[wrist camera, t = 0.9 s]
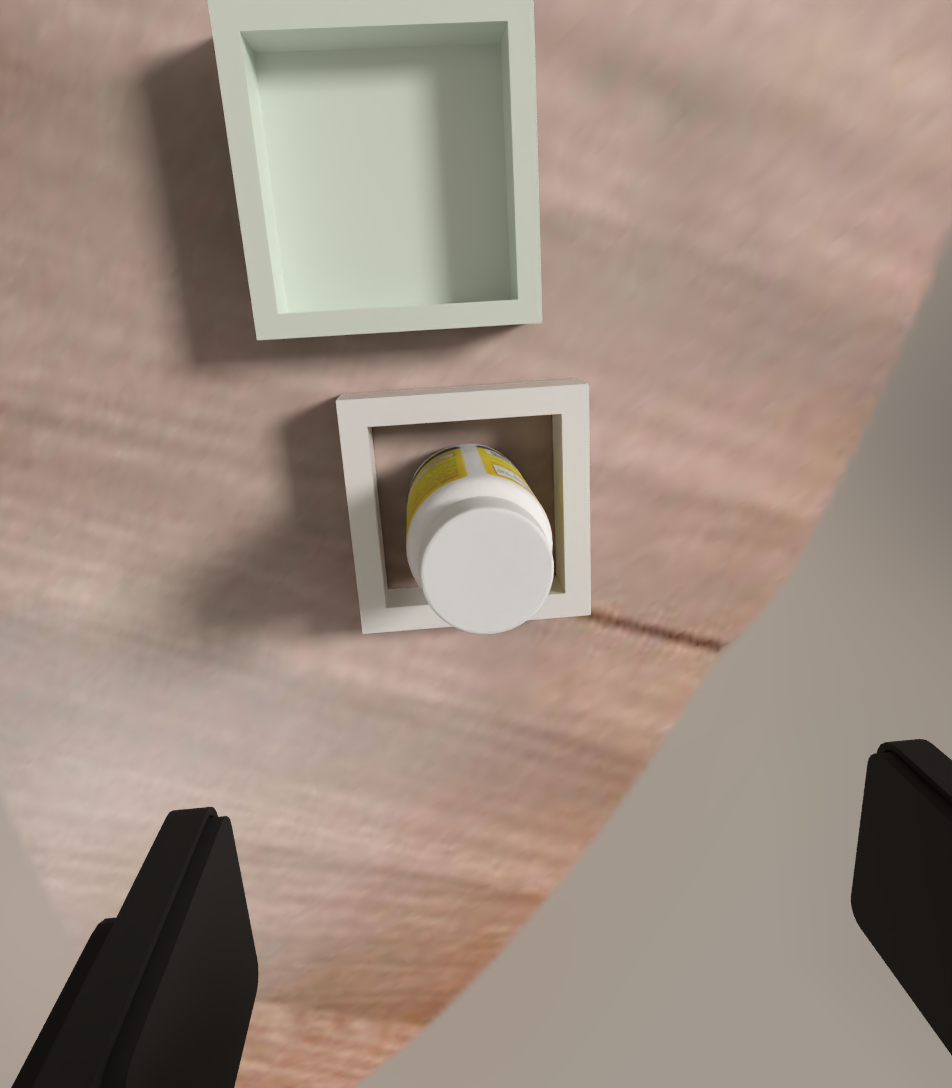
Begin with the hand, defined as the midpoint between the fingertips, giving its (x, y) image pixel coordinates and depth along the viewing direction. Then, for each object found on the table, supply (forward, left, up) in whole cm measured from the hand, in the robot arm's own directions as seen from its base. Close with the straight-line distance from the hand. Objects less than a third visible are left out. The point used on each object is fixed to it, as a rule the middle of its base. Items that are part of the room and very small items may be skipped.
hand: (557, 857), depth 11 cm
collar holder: (0, 0, -20) cm, 20 cm away
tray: (-12, -2, -20) cm, 23 cm away
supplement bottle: (0, 0, -20) cm, 20 cm away
